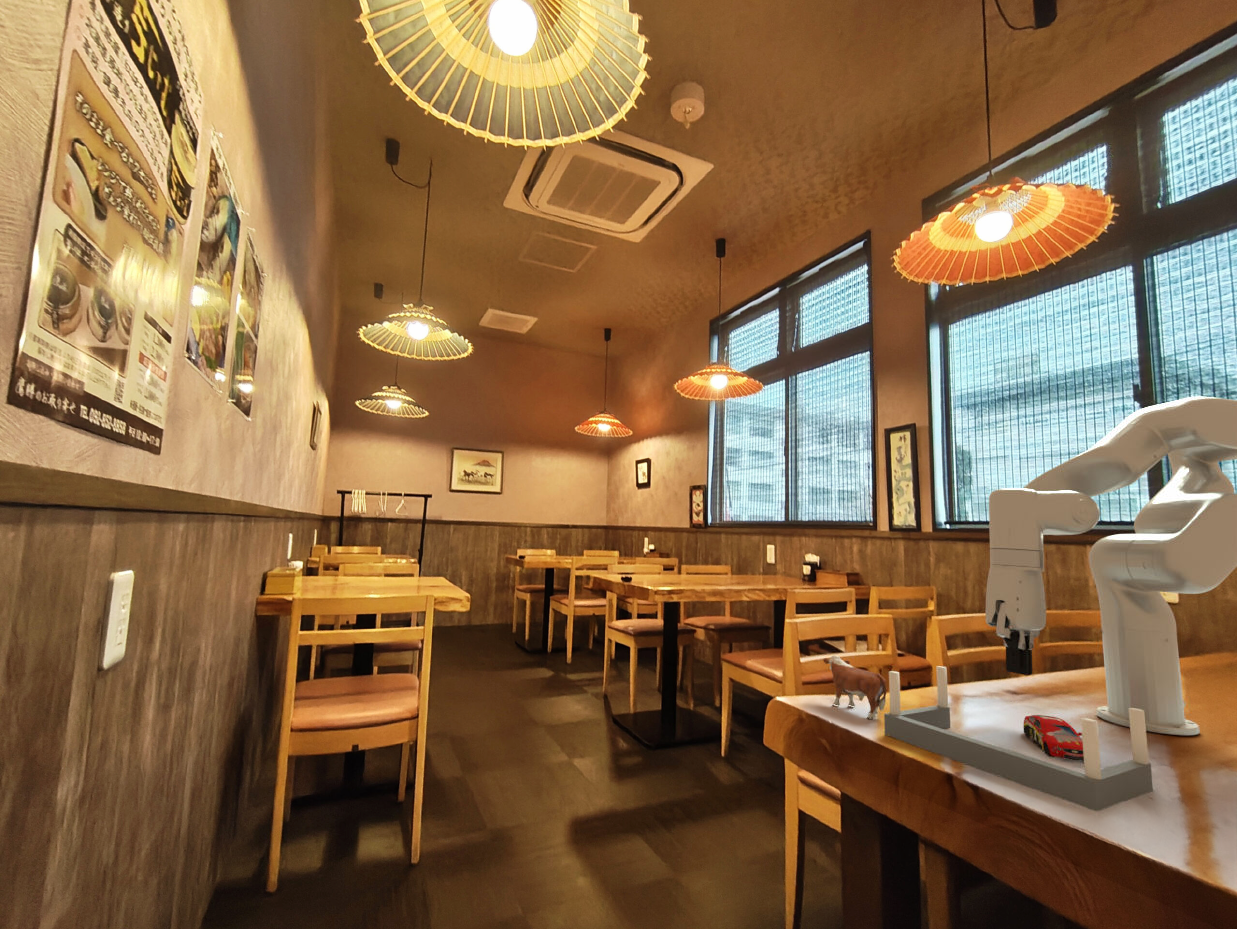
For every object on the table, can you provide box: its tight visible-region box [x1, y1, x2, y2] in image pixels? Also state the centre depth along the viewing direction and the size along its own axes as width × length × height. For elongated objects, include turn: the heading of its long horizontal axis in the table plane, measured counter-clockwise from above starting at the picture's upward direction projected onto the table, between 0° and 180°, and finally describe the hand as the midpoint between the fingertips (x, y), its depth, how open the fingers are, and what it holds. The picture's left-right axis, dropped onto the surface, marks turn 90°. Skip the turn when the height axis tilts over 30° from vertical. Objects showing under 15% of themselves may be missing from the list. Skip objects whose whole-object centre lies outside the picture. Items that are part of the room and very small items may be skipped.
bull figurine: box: [823, 654, 887, 720], centre depth 97 cm, size 4×13×8 cm, turn 18°
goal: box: [883, 665, 1154, 812], centre depth 76 cm, size 14×26×9 cm, turn 28°
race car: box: [1023, 714, 1084, 762], centre depth 81 cm, size 13×5×4 cm, turn 160°
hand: (1019, 672), depth 93 cm, fingers closed
